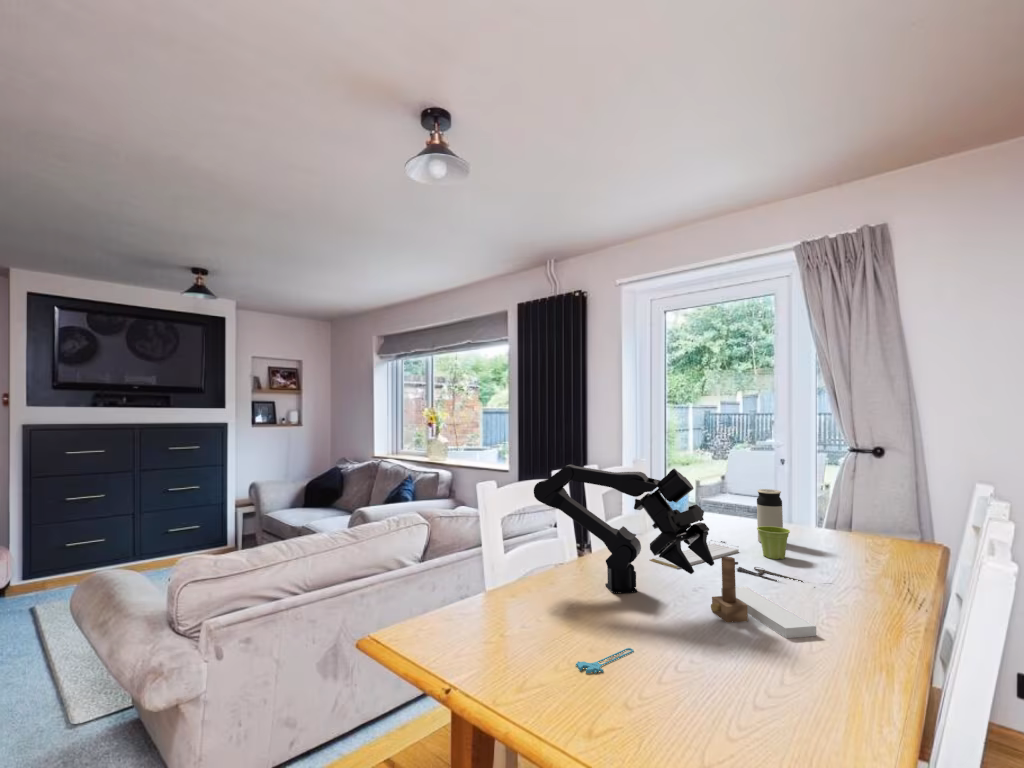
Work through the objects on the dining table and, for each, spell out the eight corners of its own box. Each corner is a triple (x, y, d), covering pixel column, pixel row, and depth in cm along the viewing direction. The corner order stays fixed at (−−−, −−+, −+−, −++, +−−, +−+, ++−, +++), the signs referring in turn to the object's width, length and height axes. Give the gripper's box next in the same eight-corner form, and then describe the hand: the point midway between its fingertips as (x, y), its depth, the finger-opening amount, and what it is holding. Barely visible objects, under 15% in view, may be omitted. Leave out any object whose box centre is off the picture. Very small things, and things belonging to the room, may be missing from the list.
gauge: (720, 623, 113) (718, 563, 114) (705, 612, 119) (704, 555, 120) (747, 621, 114) (746, 561, 115) (732, 610, 120) (730, 554, 121)
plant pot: (760, 551, 170) (759, 524, 170) (793, 555, 164) (792, 528, 165) (754, 558, 162) (754, 530, 163) (788, 563, 157) (787, 534, 157)
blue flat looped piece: (591, 673, 91) (571, 662, 95) (591, 679, 91) (571, 668, 95) (641, 650, 99) (621, 641, 103) (641, 655, 99) (621, 646, 103)
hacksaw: (734, 572, 150) (734, 567, 150) (753, 565, 156) (752, 560, 156) (823, 596, 130) (823, 590, 130) (841, 587, 136) (841, 581, 137)
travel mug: (762, 545, 177) (760, 492, 178) (755, 539, 185) (753, 488, 186) (786, 545, 176) (785, 492, 177) (778, 540, 184) (777, 489, 185)
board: (785, 638, 106) (785, 628, 106) (721, 596, 129) (721, 588, 130) (816, 635, 107) (816, 625, 107) (747, 594, 130) (747, 586, 131)
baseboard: (645, 561, 162) (677, 571, 152) (645, 551, 162) (677, 561, 152) (707, 545, 179) (738, 554, 169) (706, 537, 179) (738, 545, 169)
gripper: (660, 498, 120) (705, 557, 112) (701, 490, 133) (745, 542, 124) (632, 526, 126) (673, 584, 117) (674, 516, 138) (714, 568, 129)
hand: (703, 568), depth 122 cm, fingers open, 9 cm apart
